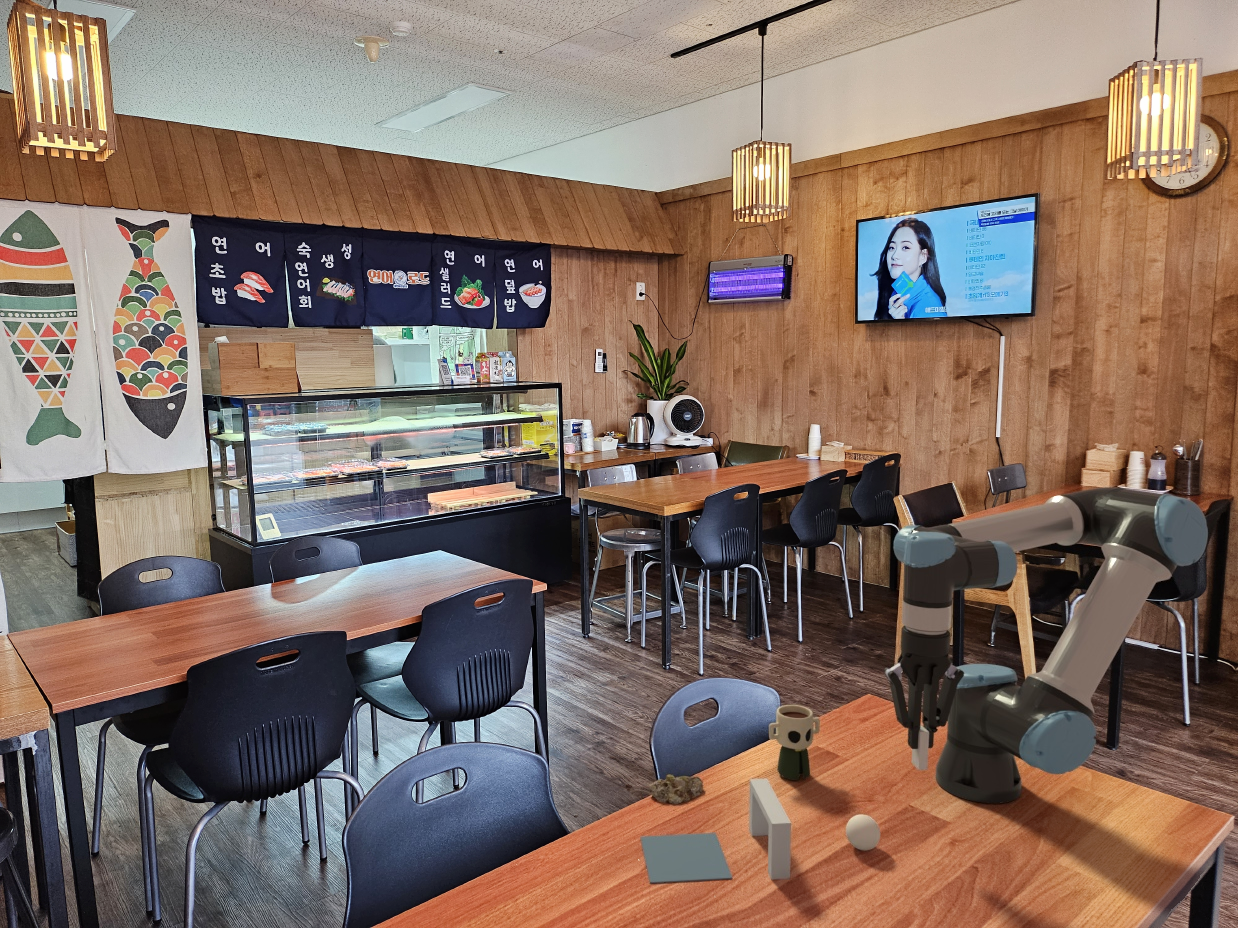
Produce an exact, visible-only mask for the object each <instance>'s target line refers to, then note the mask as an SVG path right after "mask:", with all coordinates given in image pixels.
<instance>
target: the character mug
mask: <svg viewBox="0 0 1238 928" xmlns="http://www.w3.org/2000/svg"><path fill="white" fill-rule="evenodd" d="M775 715H776V718H775V722H771V723H769V725H768V737H769V740H773V741H774V740H776V742H777V743H778V744H779V745H781V747H780V749H779V750H780V751H779V754H778V761H777V767H776V770H777V772H778V773H779V775H780V776H781V777H783V778H785V779H788V780H790V781H791V780H792V781H800V776H801V775H802V778H803V780H806V779H807V778H809V777H810V776H811V775H810V774H811V768H810V757H809V751H808V748H809V747H810V746H811V745H812V744H813V740H814V735H815V734H818V733H820V725H821V724H820V723H821V720H820V717H818V716H817V717H814V712H813V711H812V709H810V708H809V707H806V706H803V705H797V704H786V705H781V706H779V707H778V708H777V709H776V714H775Z"/></svg>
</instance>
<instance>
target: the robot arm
mask: <svg viewBox="0 0 1238 928" xmlns="http://www.w3.org/2000/svg"><path fill="white" fill-rule="evenodd" d="M1207 525H1208V524H1207V519H1206V517H1205V514H1204V512H1203V511H1202V509H1201V508H1200V506H1199V505H1198V504H1197V503H1196V502H1194V501H1192V500H1191V499H1188V498H1185V497H1180V496H1176V495H1173V494H1171V493H1164V494H1162V493H1156V492H1155V493H1154V492H1150V491H1143V490H1142V491H1141V490H1135V489H1129V488H1126V487H1125V488H1124V487H1118V486H1117V487H1116V486H1113V487H1111V486H1107V487H1097V488H1091V489H1085V490H1079V491H1074V492H1070V493H1065V494H1064V493H1063V494H1061V495H1054V496H1052V497H1050V498H1048V499H1047V500H1046V501H1045V503H1043V504H1038V505H1034V506H1028V507H1025V508H1024V507H1023V508H1019V509H1014V510H1010V511H1006V512H1001V513H995V514H990V515H987V516H985V515H984V516H981V517H976V518H971V519H967V520H961V521H958V522H952V523H948V524H943V525H942V524H939V525H935V526H931V527H925V526H923V525H916V524H908V525H905V526H904V527H902V528H901V529H899V531H897V533H896V535H895V537H894V540H893V551H894V555H895V557H896V559H897V560H898V561H899V562H901V563H902V564H903V582H902V583H903V586H902V593H903V594H902V606H901V607H902V608H901V609H902V611H901V613H902V614H901V623H902V627H901V632H900V633H901V634H900V637H901V638H900V655H899V656H898V658H897V664H895V665H893V666H892V667H885V668H883V674H884V675H885V677H886V679H887V680H888V682H889V687H890V691H891V692H890V693H891V696H892V701H893V706H894V711H895V717H896V720H897V722H898V723H899V725H901V726H902V727H903V728H904V729H907V745H908V747H910V748H911V764H912V765H913V766H914V767H915V768H916V769H917V771H928V764H929V763H928V762H929V749H932V748H933V747H934V740H935V739H934V738H935V734H936V733H937V732H938V728H939V727H942V728H945V727H946V725H947V727H946V728H947V729H946V731H947V732H946V741H945V744H944V746H943V748H942V751H941V753H940V756H939V759H938V760H937V762H936V766H935V781H936V783H937V784H938V786H940V787H941V788H942V789H943V790H945V791H946V792H948V793H949V794H952V795H954V796H955V797H959V798H961V799H964V800H967V801H972V802H974V803H975V802H976V803H981V804H992V805H993V804H995V805H996V804H1006V803H1010V802H1013V801H1015V800H1017V799H1018V798H1019V797H1020V796H1021V794H1022V777H1021V774H1020V771H1019V767H1018V763H1017V761H1016V758H1018V759H1020V760H1022V761H1023V762H1024V763H1026V764H1027V765H1028V766H1030V767H1032V768H1034V769H1035V768H1036V769H1038V770H1041V771H1043V772H1045V773H1048V774H1051V775H1064V774H1066V773H1071V772H1074V771H1076V770H1077V769H1078V768H1079V767H1081V766H1082V765H1084V763H1085V762H1086V761H1087V760H1088V759H1089V758H1090V756H1091V754H1092V753H1093V751H1094V749H1095V746H1096V744H1097V740H1096V738H1095V737H1096V736H1097V729H1096V726H1095V724H1094V722H1093V720H1091V719H1092V718H1093V716H1094V715H1095V709H1094V706H1093V703H1092V701H1091V699H1092V697H1093V695H1094V693H1095V691H1096V690H1097V688H1098V686H1099V684H1100V683H1101V681H1102V679H1103V677H1104V676H1105V673H1107V670H1108V668H1109V667H1110V665H1111V663H1112V662H1113V660H1114V658H1115V656H1116V654H1117V652H1118V651H1119V649H1120V648H1121V645H1122V644H1123V642H1124V640H1125V638H1126V636H1127V635H1128V632H1129V631H1130V629H1131V627H1132V625H1133V624H1134V623H1135V620H1136V619H1137V616H1138V615H1139V613H1140V611H1141V610H1142V608H1143V606H1144V604H1145V602H1146V600H1147V599H1148V597H1149V596H1150V594H1151V592H1152V590H1153V589H1154V587H1155V585H1156V583H1159V582H1161V581H1163V582H1164V581H1167V580H1170V579H1171V577H1172V576H1173V574H1174V572H1175V570H1176V568H1177V566H1180V567H1184V566H1185V567H1186V566H1190V565H1192V564H1195V563H1197V562H1198V561H1199V560H1200V558H1202V556H1203V554H1204V553H1205V550H1206V547H1207V544H1208V539H1209V538H1208V536H1209V532H1208V531H1209V530H1208V526H1207ZM1055 543H1056V544H1058V545H1060V546H1072V545H1073V546H1074V545H1077V544H1083V545H1093V546H1097V547H1100V548H1101V552H1102V553H1103V556H1104V560H1103V562H1102V564H1101V565H1100V568H1099V570H1098V571H1097V572H1096V575H1095V576H1094V579H1092V582H1091V584H1090V585H1089V587H1088V589H1087V591H1086V592H1085V593H1084V596H1083V598H1082V600H1081V601H1080V602H1079V604H1078V606H1077V607H1076V609H1075V611H1074V612H1073V613H1074V614H1073V615H1072V616H1071V618H1070V620H1069V622H1068V624H1067V625H1066V626H1065V629H1064V631H1063V633H1062V634H1061V635H1060V638H1059V639H1058V641H1057V643H1056V645H1055V646H1054V648H1053V650H1052V651H1051V653H1050V655H1049V657H1048V658H1047V660H1046V662H1045V664H1044V665H1043V667H1042V669H1041V671H1039V672H1035V673H1031V674H1028V675H1027V676H1026V677H1025V680H1024V681H1023V683H1022V685H1021V686H1020V685H1019V684H1017V683H1018V677H1017V673H1016V671H1015V670H1014V669H1012V668H1010V667H1007V666H1003V665H998V664H997V665H996V664H991V663H990V664H987V663H971V664H970V663H968V664H963V665H959V666H956V665H954V664H952V661H951V658H950V656H949V654H950V649H951V632H950V629H951V628H952V627H951V625H952V608H953V596H954V591H960V590H973V589H982V588H983V589H984V588H990V589H993V588H995V587H1001V586H1006V585H1008V584H1010V583H1011V582H1012V581H1013V580H1014V579H1015V578H1016V576H1017V572H1018V558H1017V555H1016V552H1020V551H1024V550H1029V549H1033V548H1038V547H1043V546H1048V545H1051V544H1055ZM902 673H903V674H904V675H905V677H906V678H907V685H908V695H907V700H906V697H905V692H904V687H903V683H902V681H901V680H903V679H902V678H903V675H902ZM944 675H945V676H944ZM943 677H944V678H943ZM942 678H943V679H942ZM941 679H942V684H941V687H940V681H941ZM938 692H939V695H938ZM906 701H907V702H906ZM921 723H922V724H921Z"/></svg>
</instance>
